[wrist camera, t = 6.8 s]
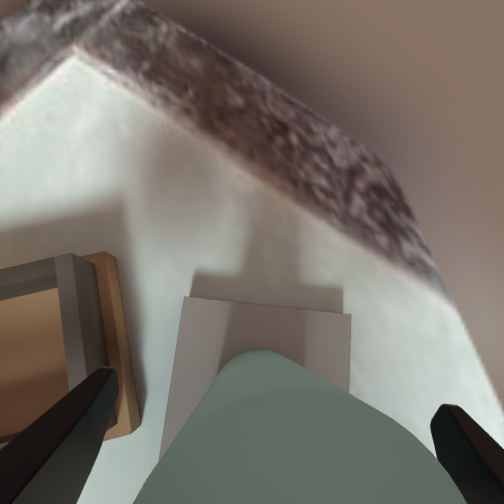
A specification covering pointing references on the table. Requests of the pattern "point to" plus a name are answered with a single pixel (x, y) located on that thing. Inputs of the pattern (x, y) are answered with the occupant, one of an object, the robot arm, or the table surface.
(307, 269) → the table surface
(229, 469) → the peg
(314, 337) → the pad
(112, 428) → the socket
